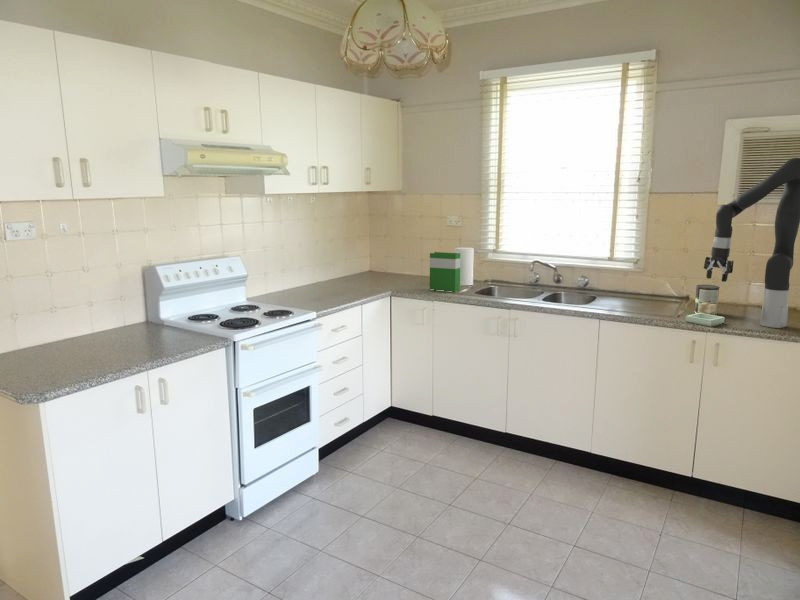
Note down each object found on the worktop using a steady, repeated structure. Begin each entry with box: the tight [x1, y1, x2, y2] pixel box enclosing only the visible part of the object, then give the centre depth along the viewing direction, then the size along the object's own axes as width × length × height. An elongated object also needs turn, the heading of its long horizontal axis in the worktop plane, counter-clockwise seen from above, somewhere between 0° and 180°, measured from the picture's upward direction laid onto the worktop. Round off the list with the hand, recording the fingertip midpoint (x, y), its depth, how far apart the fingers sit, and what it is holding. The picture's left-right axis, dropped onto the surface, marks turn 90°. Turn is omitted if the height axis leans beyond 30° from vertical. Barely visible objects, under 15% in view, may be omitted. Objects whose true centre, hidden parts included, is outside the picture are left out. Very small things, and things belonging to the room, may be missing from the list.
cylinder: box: [454, 246, 475, 286], centre depth 372 cm, size 12×12×25 cm
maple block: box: [699, 303, 716, 316], centre depth 273 cm, size 5×5×7 cm
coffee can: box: [693, 284, 720, 315], centre depth 283 cm, size 10×10×14 cm
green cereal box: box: [429, 251, 461, 293], centre depth 351 cm, size 18×7×24 cm, turn 61°
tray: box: [684, 313, 726, 328], centre depth 264 cm, size 12×12×3 cm
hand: (716, 279), depth 270 cm, fingers open, 8 cm apart
